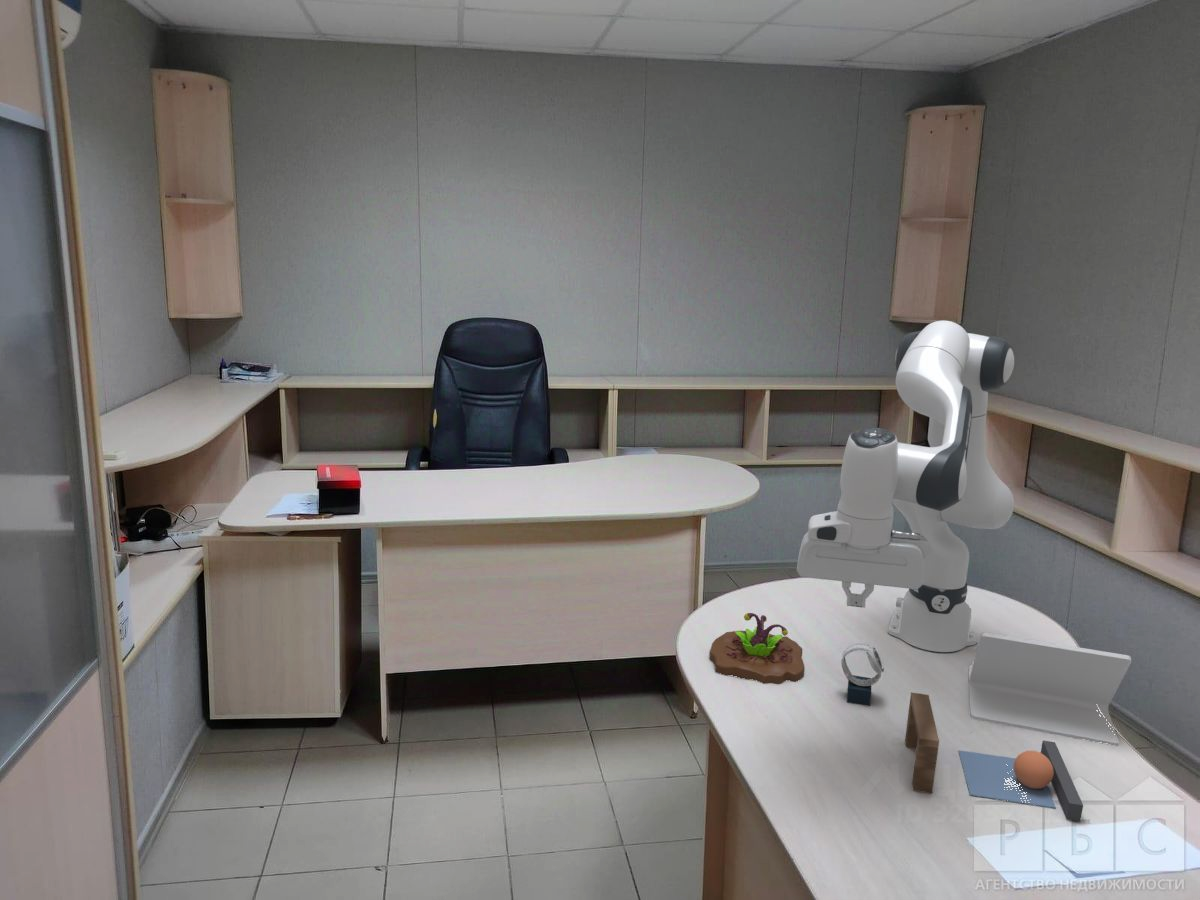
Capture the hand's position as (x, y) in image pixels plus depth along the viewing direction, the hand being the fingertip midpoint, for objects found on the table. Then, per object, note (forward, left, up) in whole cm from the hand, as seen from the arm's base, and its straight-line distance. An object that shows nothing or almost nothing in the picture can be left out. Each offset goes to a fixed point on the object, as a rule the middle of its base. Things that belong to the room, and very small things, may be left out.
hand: (855, 605), depth 151 cm
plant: (-31, -17, -29) cm, 46 cm away
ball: (+1, +31, -25) cm, 40 cm away
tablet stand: (-26, +38, -29) cm, 54 cm away
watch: (-21, +4, -29) cm, 36 cm away
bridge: (0, +13, -28) cm, 31 cm away
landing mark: (0, +27, -28) cm, 39 cm away
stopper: (0, +35, -28) cm, 45 cm away
